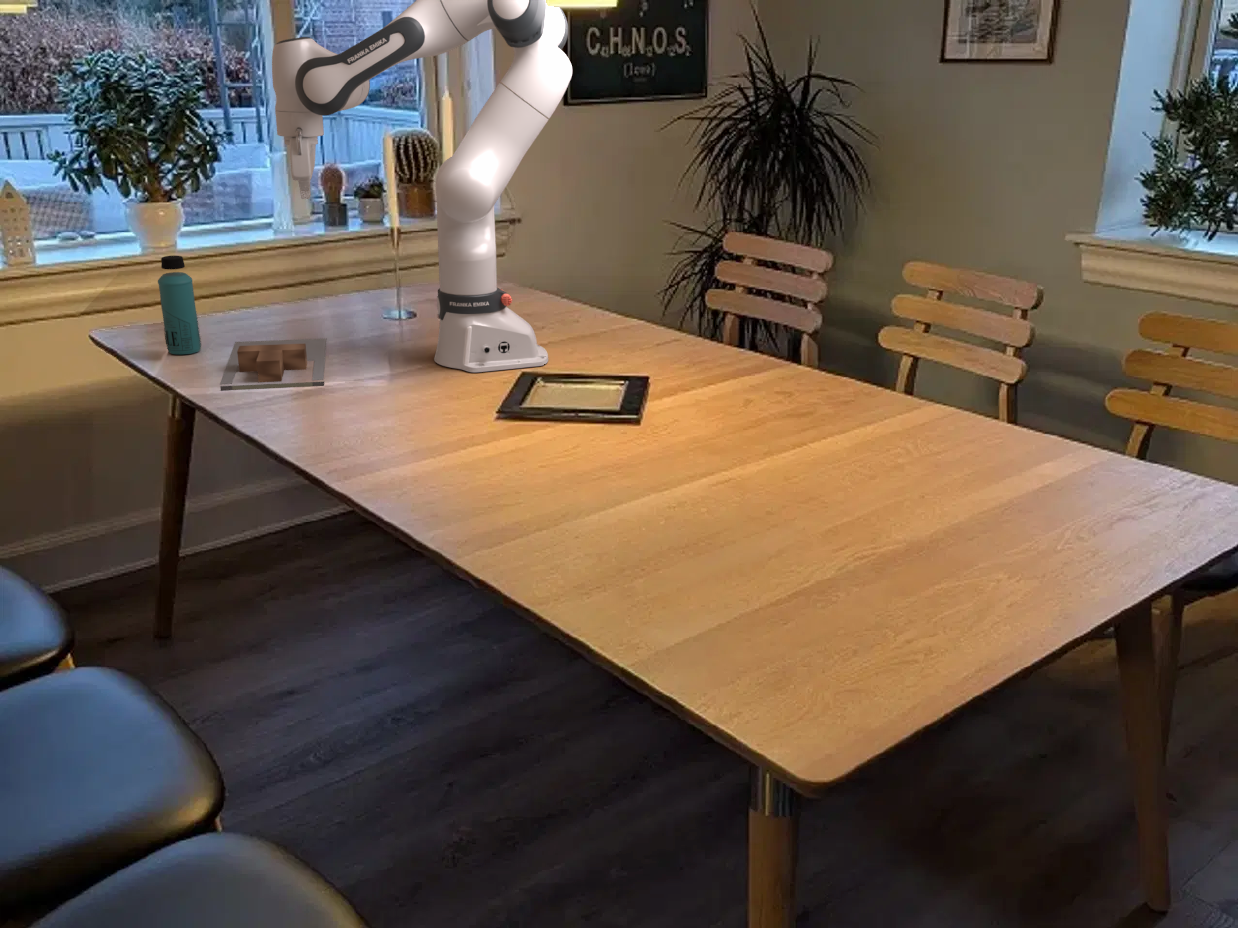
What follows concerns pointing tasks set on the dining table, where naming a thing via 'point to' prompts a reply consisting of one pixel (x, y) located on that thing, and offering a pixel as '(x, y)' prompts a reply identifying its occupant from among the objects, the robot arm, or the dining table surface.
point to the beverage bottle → (178, 308)
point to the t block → (272, 360)
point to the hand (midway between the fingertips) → (305, 198)
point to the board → (314, 353)
